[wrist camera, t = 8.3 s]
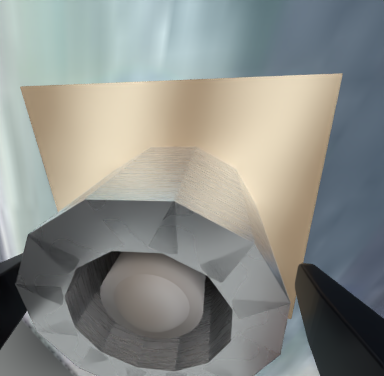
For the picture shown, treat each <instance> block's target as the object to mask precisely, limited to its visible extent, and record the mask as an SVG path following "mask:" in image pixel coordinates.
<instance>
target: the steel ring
mask: <svg viewBox="0 0 384 376" xmlns="http://www.w3.org/2000/svg"><path fill="white" fill-rule="evenodd" d="M122 251H123V252H144V253H163V254H165V255H167V256H169V257H171V258H173V259H175V260H177V261H179V262H181V263H183V264H185V265H187V266H189V267H191V268H193V269H195V270H197V271H199V272H201V273H203V274H205V275H206V276H205V291H204V305H203V315H202V318H201V320H200V322H199V323H198V325H197V326H196V327H195V328H194V329H193V330H191V331H190V332H188V333H186V334H184V335H182V336H179V337H175V338H169V339H156V338H149V337H144V336H141V335H138V334H135V333H133V332H131V331H129V330H127V329H125V328H123V327H122V326H120V325H119V324H118V323H116V322H115V321H114V320H113V319H112V318H111V317H110V316H109V314H108V313H107V312H106V310H105V308H104V306H103V304H102V301H101V296H100V291H101V286H102V283H103V281H104V279H105V278H106V276H107V274H108V273H109V271H110V269H111V268H112V266H113V265H114V263H115V261H116V260H117V258H118V256H119V255H120V253H121V252H122ZM15 285H16V287H17V289H18V291H19V293H20V296H21V298H22V300H23V302H24V304H25V307H26V309H27V311H28V313H29V315H30V318H31V320H32V322H33V324H34V326H35V329H36V331H37V332H38V333H39V334H40V335H41V336H42V337H44V338H45V339H46V340H47V341H48V342H49V343H51V344H52V345H53V346H54V347H55V348H56V349H58V350H59V351H60V352H61V353H62V354H63V355H65V356H66V357H67V358H68V359H69V360H70V361H72V362H73V363H74V364H75V365H76V366H77V367H79V368H80V369H83V370H85V371H88V372H90V373H92V374H95V375H97V376H254V375H255V374H256V373H257V372H259V371H260V370H261V369H263V368H264V367H265V366H266V365H268V364H269V363H270V362H271V361H273V360H274V359H275V358H276V357H278V356H279V355H280V354H281V349H282V344H283V339H284V334H285V329H286V324H287V319H288V314H289V309H290V304H291V303H290V300H289V297H288V294H287V291H286V288H285V285H284V283H283V280H282V277H281V274H280V271H279V268H278V265H277V263H276V260H275V257H274V254H273V251H272V248H271V245H270V243H269V240H268V237H267V234H266V231H265V228H264V225H263V223H262V220H261V217H260V214H259V211H258V208H257V205H256V203H255V202H254V200H253V198H252V196H251V195H250V193H249V191H248V189H247V187H246V186H245V184H244V182H243V180H242V179H241V177H240V175H239V173H238V171H237V170H236V168H234V167H232V166H230V165H228V164H227V163H225V162H223V161H221V160H219V159H218V158H216V157H214V156H212V155H211V154H209V153H207V152H205V151H203V150H202V149H200V148H198V147H150V148H149V149H147V150H146V151H144V152H143V153H141V154H139V155H138V156H136V157H135V158H133V159H132V160H130V161H128V162H127V163H125V164H124V165H122V166H121V167H119V168H117V169H116V170H115V171H113V172H112V173H110V174H109V175H108V176H106V177H105V178H104V179H102V180H101V181H100V182H98V183H97V184H96V185H94V186H93V187H91V188H90V189H89V190H87V191H86V192H85V193H83V194H82V195H81V196H79V197H78V198H77V199H75V200H74V201H72V202H71V203H70V204H68V205H67V206H66V207H64V208H63V209H62V210H60V211H59V212H58V213H56V214H55V215H53V216H52V217H51V218H49V219H48V220H47V221H45V222H44V223H43V224H41V225H40V226H39V227H37V228H36V229H34V230H33V231H32V232H30V233H29V234H28V237H27V241H26V245H25V249H24V253H23V257H22V261H21V265H20V269H19V272H18V276H17V280H16V284H15Z"/></svg>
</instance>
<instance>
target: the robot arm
mask: <svg viewBox="0 0 384 376" xmlns="http://www.w3.org/2000/svg"><path fill="white" fill-rule="evenodd" d="M22 257H23V253H22V254H20V255H18V256H15V257H13V258H11V259H8V260H6V261H4V262H1V263H0V350H1V348H2V347H3V345H4V343H5V342H6V341H7V340H8V338H9V337H10V335H11V334H12V332H13V331H14V329H15V328H16V327H17V325H18V324H19V322H20V321H21V319H22V318H23V316H24V315H25V313H26V312H27V309H26V307H25V304H24V302H23V300H22V298H21V296H20V293H19V291H18V289H17V287H16V285H15V284H16V280H17V276H18V272H19V269H20V265H21V261H22ZM295 291H296V295H297V299H298V303H299V307H300V311H301V315H302V319H303V323H304V327H305V331H306V335H307V339H308V342H309V345H310V348H311V351H312V354H313V357H314V359H315V362H316V365H317V368H318V371H319V373H320V376H384V318H382V317H381V316H380V315H378V314H377V313H376V312H375V311H373V310H372V309H371V308H369V307H368V306H367V305H365V304H364V303H363V302H362V301H360V300H359V299H358V298H356V297H355V296H354V295H353V294H351V293H350V292H349V291H347V290H346V289H345V288H344V287H342V286H341V285H340V284H338V283H337V282H336V281H335V280H333V279H332V278H331V277H329V276H328V275H327V274H325V273H324V272H323V271H322V270H320V269H319V268H318V267H316V266H315V265H313V264H306V263H301V264H299V265H298V269H297V274H296V279H295Z"/></svg>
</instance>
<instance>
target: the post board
mask: <svg viewBox="0 0 384 376" xmlns="http://www.w3.org/2000/svg"><path fill="white" fill-rule="evenodd" d="M341 79H342V74H319V75H294V76H270V77H245V78H221V79H196V80H171V81H147V82H122V83H98V84H73V85H49V86H24V87H20V88H21V91H22V95H23V98H24V101H25V104H26V108H27V111H28V114H29V118H30V121H31V124H32V128H33V131H34V134H35V137H36V141H37V144H38V147H39V151H40V154H41V157H42V161H43V164H44V167H45V170H46V174H47V177H48V180H49V184H50V187H51V190H52V193H53V197H54V200H55V203H56V207H57V210H58V212H59V211H60V210H62V209H63V208H64V207H66V206H67V205H68V204H70V203H71V202H72V201H74V200H75V199H77V198H78V197H79V196H81V195H82V194H83V193H85V192H86V191H87V190H89V189H90V188H91V187H93V186H94V185H96V184H97V183H98V182H100V181H101V180H102V179H104V178H105V177H106V176H108V175H109V174H110V173H112V172H113V171H115V170H116V169H117V168H119V167H121V166H122V165H124V164H125V163H127V162H128V161H130V160H132V159H133V158H135V157H136V156H138V155H139V154H141V153H143V152H144V151H146V150H147V149H149V148H150V147H198V148H200V149H202V150H203V151H205V152H207V153H209V154H211V155H212V156H214V157H216V158H218V159H219V160H221V161H223V162H225V163H227V164H228V165H230V166H232V167H234V168H236V170H237V171H238V173H239V175H240V177H241V179H242V180H243V182H244V184H245V186H246V187H247V189H248V191H249V193H250V195H251V196H252V198H253V200H254V202H255V203H256V205H257V208H258V211H259V214H260V217H261V220H262V223H263V225H264V228H265V231H266V234H267V237H268V240H269V243H270V245H271V248H272V251H273V254H274V257H275V260H276V263H277V265H278V268H279V271H280V274H281V277H282V280H283V283H284V285H285V288H286V291H287V294H288V297H289V300H290V303H291V304H290V309H289V314H288V319H291V317H292V313H293V308H294V303H295V298H296V291H295V279H296V274H297V269H298V265H299V264H301V263H303V260H304V256H305V251H306V246H307V241H308V236H309V232H310V227H311V222H312V217H313V213H314V208H315V203H316V198H317V194H318V189H319V184H320V179H321V174H322V170H323V165H324V160H325V155H326V151H327V146H328V141H329V136H330V132H331V127H332V122H333V117H334V112H335V108H336V103H337V98H338V93H339V89H340V84H341ZM205 276H206V275H205V274H203V273H201V272H199V271H197V270H195V269H193V268H191V267H189V266H187V265H185V264H183V263H181V262H179V261H177V260H175V259H173V258H171V257H169V256H167V255H165V254H163V253H144V252H123V251H122V252H121V253H120V255H119V256H118V258H117V260H116V261H115V263H114V265H113V266H112V268H111V269H110V271H109V273H108V274H107V276H106V278H105V279H104V281H103V283H102V286H101V291H100V296H101V301H102V304H103V306H104V308H105V310H106V312H107V313H108V314H109V316H110V317H111V318H112V319H113V320H114V321H115V322H116V323H118V324H119V325H120V326H122V327H123V328H125V329H127V330H129V331H131V332H133V333H135V334H138V335H141V336H144V337H149V338H156V339H169V338H175V337H179V336H182V335H184V334H186V333H188V332H190V331H191V330H193V329H194V328H195V327H196V326H197V325H198V323H199V322H200V320H201V318H202V315H203V305H204V291H205Z"/></svg>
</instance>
